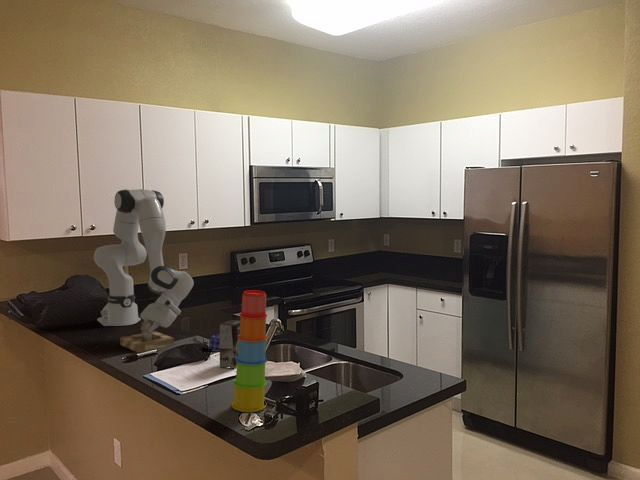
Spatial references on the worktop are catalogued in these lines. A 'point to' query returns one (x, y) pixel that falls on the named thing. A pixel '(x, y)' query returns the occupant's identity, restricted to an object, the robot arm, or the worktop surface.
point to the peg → (146, 335)
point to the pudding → (214, 342)
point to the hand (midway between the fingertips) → (145, 331)
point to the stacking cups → (251, 354)
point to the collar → (139, 346)
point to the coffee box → (229, 343)
